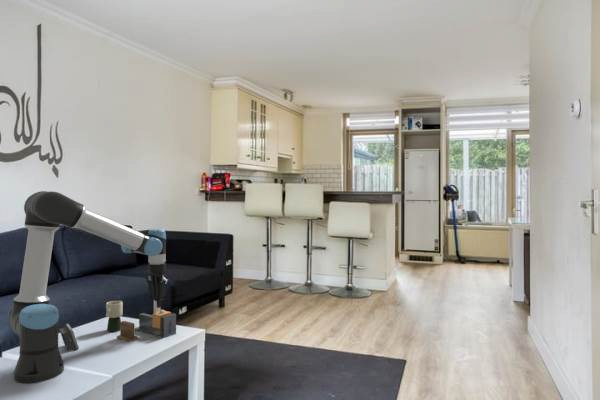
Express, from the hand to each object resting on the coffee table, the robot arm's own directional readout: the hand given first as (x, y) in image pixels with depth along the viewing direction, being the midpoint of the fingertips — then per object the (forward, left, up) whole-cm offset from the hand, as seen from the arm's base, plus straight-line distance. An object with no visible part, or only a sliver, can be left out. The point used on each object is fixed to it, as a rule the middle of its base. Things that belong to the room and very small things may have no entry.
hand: (157, 314), depth 196 cm
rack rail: (0, +1, -8) cm, 9 cm away
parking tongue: (-13, +4, -8) cm, 16 cm away
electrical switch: (-33, +14, -9) cm, 37 cm away
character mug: (-9, +19, -9) cm, 23 cm away
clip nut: (0, -3, -5) cm, 6 cm away
